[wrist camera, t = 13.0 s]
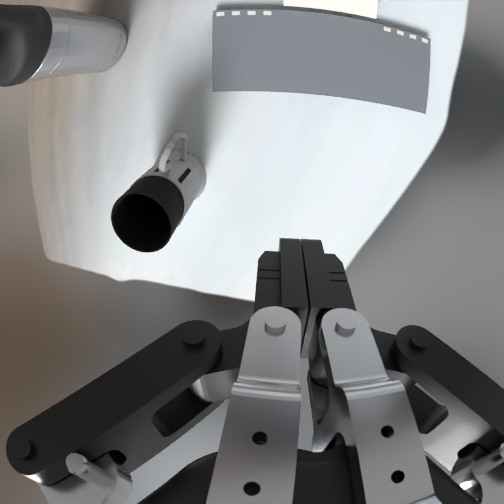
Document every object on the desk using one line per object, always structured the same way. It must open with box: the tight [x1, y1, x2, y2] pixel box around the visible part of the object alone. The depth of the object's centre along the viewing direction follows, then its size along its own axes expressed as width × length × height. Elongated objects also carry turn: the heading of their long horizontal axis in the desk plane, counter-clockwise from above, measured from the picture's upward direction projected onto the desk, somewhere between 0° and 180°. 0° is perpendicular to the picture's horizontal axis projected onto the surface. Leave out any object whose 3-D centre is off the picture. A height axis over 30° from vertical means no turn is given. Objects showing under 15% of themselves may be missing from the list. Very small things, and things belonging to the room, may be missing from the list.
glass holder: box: [111, 132, 206, 252], centre depth 35 cm, size 9×14×15 cm, turn 154°
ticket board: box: [213, 9, 430, 114], centre depth 30 cm, size 30×12×2 cm, turn 89°
